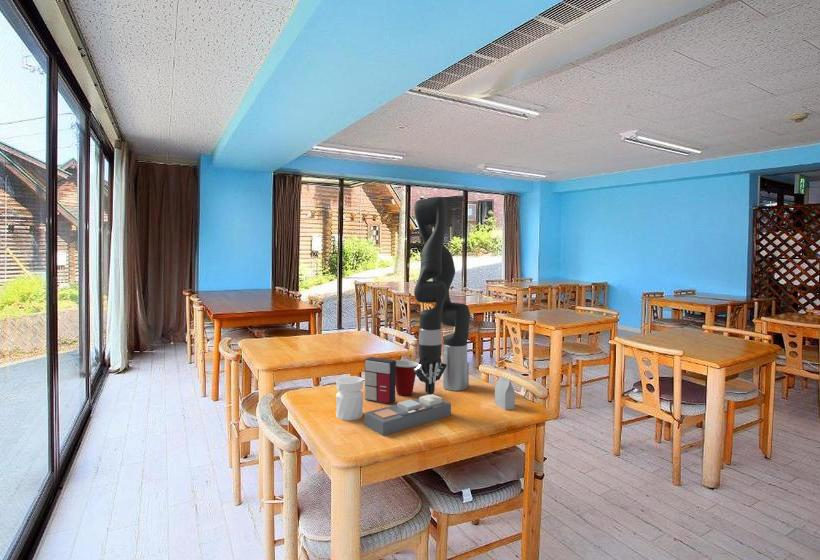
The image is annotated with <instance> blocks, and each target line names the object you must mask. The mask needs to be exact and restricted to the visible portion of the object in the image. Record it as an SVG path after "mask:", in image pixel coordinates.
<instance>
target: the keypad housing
mask: <svg viewBox="0 0 820 560" xmlns="http://www.w3.org/2000/svg"><path fill="white" fill-rule="evenodd" d="M412 400H413V401H416V402H418V403H420V402H419V398H416V399H412ZM420 404H421V408H419V409H416V410H412V411H408V412H405V411H403V410H401V409H399V408H397V403H396V404H393V405H389V406H385V407H381V408H378V409H374V410H370V411H366V412H364V426H365V427H367V428H368V429H371V430H372V431H374V432H375V433H377V434H379V435H381V436H386V435H390V434H394V433H396V432H401V431H403V429H404V430H407V429H409V428H410V429H411V428H412V427H416V426H420V425H423V424H427V423H429V422H430V423H431V422H433V421H436V420H439V419H443V418H446V417H449V416H451V415H452V403H451V402H449V401H446V400H444V399H442V403H440V404H437V405H433V406H427V405H425V404H423V403H420ZM385 409H390V410H392V411H394V412H396V413H398V415H397V416H393V417H390V418H386V419H382V418H380V417H378V416H376V415H374V412H377V411H381V410H385Z"/></svg>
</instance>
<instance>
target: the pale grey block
mask: <svg viewBox="0 0 820 560" xmlns="http://www.w3.org/2000/svg"><path fill="white" fill-rule="evenodd" d="M515 393H516V391H515V389H514V387H513V384H512V380H510V379H508V378H506V377H504V376H503V375H499V376H498V379H497V382H496V384H495V387H494V404H495V405H496V406H497V407H499V406H500V407H499V408H501V409H502V408H503V409H502V410H504V411H507V410H508V411H509V409H510V410H515V404H516V403H515V402H516V401H515V398H516V396H515V395H516V394H515Z"/></svg>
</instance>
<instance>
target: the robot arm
mask: <svg viewBox="0 0 820 560" xmlns="http://www.w3.org/2000/svg"><path fill="white" fill-rule="evenodd" d="M413 211H414V216H415V219H416V223H417V226H418V228H419V232H420V235H421V239H422V242H423V245H424V246H423V248H422V250H421V253H420V269H419V270H420V271H419V275H418V279H417V281H416V285H415V287H414V290H413V291H414V292H413V295H414V299H415V300H416V301H417V302H418V303H422V304H423V303H426V304H427V303H428V304H435V305H434V307H432V308H429V309H424V310H422V311H420V313H419V332H418V357H419V361H418V363H419V365H418V367H417V368H414V369H413V371H414V373H415V374H416V377H417V378H418V380H419V381H420V382H422V383H425V385H424V386H425V387H424V389H425V390H424V391H425V393H426V395H431V394H433V395H435V394H434V392H435V390H436V388H435V386H436V385H435V384H436V382H437V381H440V379H441V377H443V378H442V380H443V381H442V384H443V385H442V388H444V389H445V390H448V391H464V390H466V389H467V388H469V386H470V385H469V384H470V382H469V381H470V380H469V379H470V376H469V375H470V363H469V362H468V339H469V333H470V318H471V317H470V316H471V314H470V312H471V311H470V309H469V306H468V305H467V304H466V303H461V302H459V303H458V302H452V301H451V297H450V288H451V286H452V283H453V281H454V278H455V274H456V268H455V262H454V258H453V255H452V253H451V251H450V250H449V249H448V248H447V247H446V246H445V244H444V240H445V234H446V229H447V228H446V227H447V221H448V206H447V203H446V201H445V199H444V198H443V197H441V196H436V197H429V198H424V199H419V200H416V201H415V203H414V206H413ZM431 225H435V226H434V228H433V230H432V228H431ZM429 280H431V281H429ZM442 325H443V326H447V327H453V328H454V331H453V333H450V334H447V335H445V336H443V333H442ZM442 340H443V342H442ZM442 349H443V351H442ZM442 355H443V356H442ZM441 357H443V362H442V358H441Z"/></svg>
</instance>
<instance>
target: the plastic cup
mask: <svg viewBox="0 0 820 560" xmlns="http://www.w3.org/2000/svg"><path fill="white" fill-rule="evenodd" d="M418 365H419V362H417V361H412V360H396V372H395V393H396V395H398V396H400V397H403V396H404V397H407V396H412V395H413V392H414V387H415V381H416V377H417V375H416V374H415V373H414V371H413V369H414V368H417V367H418Z"/></svg>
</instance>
